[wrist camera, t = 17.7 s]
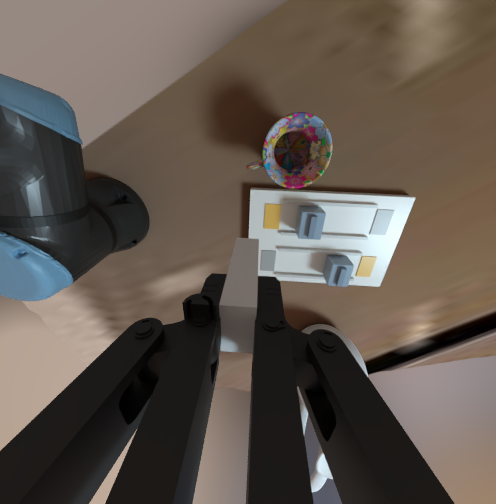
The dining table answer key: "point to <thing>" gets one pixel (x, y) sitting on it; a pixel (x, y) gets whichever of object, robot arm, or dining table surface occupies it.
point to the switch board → (327, 232)
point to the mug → (296, 150)
